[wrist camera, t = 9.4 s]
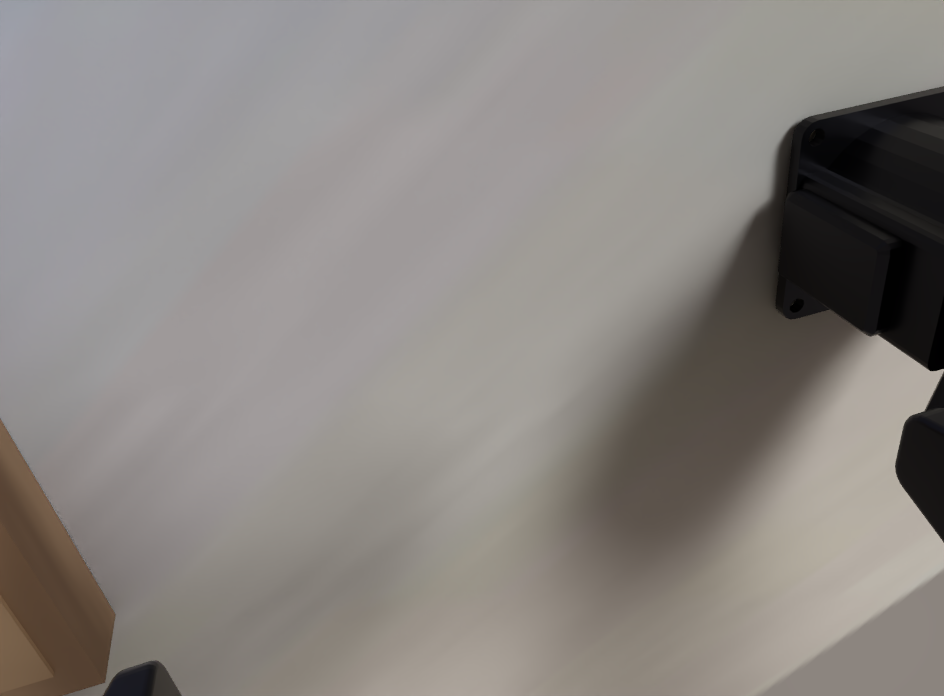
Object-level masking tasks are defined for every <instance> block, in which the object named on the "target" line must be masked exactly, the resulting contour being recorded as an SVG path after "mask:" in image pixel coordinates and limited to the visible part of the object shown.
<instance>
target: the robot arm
mask: <svg viewBox="0 0 944 696" xmlns="http://www.w3.org/2000/svg"><path fill="white" fill-rule="evenodd" d="M814 130H816V134H815V137H814V138H813V139H812V140H811V141H809V138H810V135H811V134H812V132H813V131H814ZM778 272H779V275H778V285H777V295H776V309H777V310H778V312H779V313H781V314H782V315H783V316H785V317H786V318H788V319H796V318H800V317H804V316H808V315H811V314H815V313H819V312H822V311H826V310H831V311H833V312H834V313H836V314H837V315H838V316H840V317H841V318H843V319H844V320H846V321H847V322H848V323H850V324H851V325H853V326H854V327H856V328H857V329H858V330H860V331H861V332H863V333H864V334H866V335H868V336H874V335H879V336H880V337H882V338H883V339H885V340H886V341H888V342H889V343H890V344H892V345H893V346H895V347H896V348H898V349H899V350H901V351H902V352H903V353H905V354H906V355H908V356H909V357H911V358H912V359H914V360H915V361H917V362H918V363H919V364H921V365H922V366H924V367H925V368H927V369H928V370H930V371H937V370H941V369H944V86H943V87H939V88H934V89H930V90H925V91H921V92H916V93H912V94H908V95H903V96H899V97H894V98H890V99H885V100H881V101H877V102H872V103H868V104H863V105H859V106H854V107H850V108H845V109H841V110H837V111H832V112H828V113H823V114H819V115H814V116H810V117H808V118H805V119H804V120H802V121H801V122H800V123H799V124H798V126H797V127H796V129H795V130H794V134H793V139H792V148H791V158H790V168H789V178H788V187H787V197H786V201H785V207H784V217H783V227H782V237H781V247H780V257H779V266H778ZM794 300H796V301H795V302H794V304H793V305H791V303H792V302H793V301H794ZM790 305H791V306H790ZM895 469H896V474H897V477H898V480H899V482H900V484H901V485H902V487H903V488H904V489H905V491H906V492H907V493H908V495H909V496H910V498H911V499H912V500H913V502H914V503H915V504H916V506H917V507H918V508H919V510H920V511H921V512H922V514H923V515H924V516H925V518H926V519H927V520H928V522H929V523H930V524H931V526H932V527H933V528H934V530H935V531H936V532H937V534H938V535H939V537H940V538H941V539H942V541H943V542H944V372H943V374H942V376H941V378H940V380H939V382H938V384H937V387H936V389H935V391H934V393H933V395H932V397H931V399H930V401H929V403H928V405H927V407H926V409H925V411H924V412H921V413H918V414H915V415H912V416H910V417H909V418H908V419H907V420H906V422H905V424H904V427H903V431H902V436H901V440H900V445H899V449H898V454H897V459H896V464H895ZM103 696H182V695H181V694H180V692H179V690H178V689H177V687H176V685H175V683H174V682H173V680H172V678H171V677H170V675H169V673H168V672H167V670H166V668H165V667H164V665H163V664H162V663H160V662H159V661H156V660H155V661H149V662H146V663H143V664H140V665H137V666H133V667H130V668H127V669H124V670H122V671H120V672H119V673H118V674H117V675H116V676H115V677H114V678H113V679H112V681H111V683H110V684H109V686H108V688H107V689H106V691H105V693H104V695H103Z"/></svg>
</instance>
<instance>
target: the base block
mask: <svg viewBox="0 0 944 696" xmlns="http://www.w3.org/2000/svg"><path fill="white" fill-rule="evenodd" d="M114 621H115V613H114V611H113V610H112V608H111V606H110V605H109V603H108V601H107V600H106V598H105V596H104V594H103V593H102V591H101V589H100V588H99V586H98V584H97V583H96V581H95V579H94V577H93V576H92V574H91V572H90V571H89V569H88V567H87V566H86V564H85V562H84V560H83V559H82V557H81V555H80V554H79V552H78V550H77V549H76V547H75V545H74V543H73V542H72V540H71V538H70V537H69V535H68V533H67V532H66V530H65V528H64V526H63V525H62V523H61V521H60V520H59V518H58V516H57V515H56V513H55V511H54V509H53V508H52V506H51V504H50V503H49V501H48V499H47V498H46V496H45V494H44V492H43V491H42V489H41V487H40V486H39V484H38V482H37V481H36V479H35V477H34V475H33V474H32V472H31V470H30V469H29V467H28V465H27V464H26V462H25V460H24V458H23V457H22V455H21V453H20V452H19V450H18V448H17V446H16V445H15V443H14V441H13V440H12V438H11V436H10V435H9V433H8V431H7V429H6V428H5V426H4V424H3V423H2V421H1V419H0V696H62V695H66V694H69V693H72V692H75V691H79V690H82V689H85V688H88V687H92V686H95V685H98V684H102V683H105V679H106V673H107V666H108V660H109V653H110V647H111V640H112V634H113V627H114Z"/></svg>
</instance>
